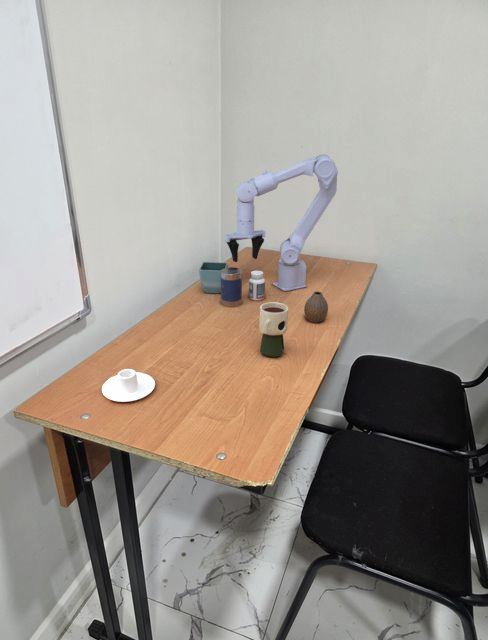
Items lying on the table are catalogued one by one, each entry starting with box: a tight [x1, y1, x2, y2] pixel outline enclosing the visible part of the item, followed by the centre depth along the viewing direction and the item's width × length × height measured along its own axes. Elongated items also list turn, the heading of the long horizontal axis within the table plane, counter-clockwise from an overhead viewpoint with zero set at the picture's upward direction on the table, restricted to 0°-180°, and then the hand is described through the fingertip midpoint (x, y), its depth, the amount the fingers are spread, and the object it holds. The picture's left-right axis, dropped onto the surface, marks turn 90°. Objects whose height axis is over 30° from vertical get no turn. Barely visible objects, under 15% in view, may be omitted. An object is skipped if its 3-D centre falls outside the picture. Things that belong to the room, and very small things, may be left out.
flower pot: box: [198, 261, 229, 294], centre depth 152 cm, size 9×9×9 cm
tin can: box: [220, 266, 243, 308], centre depth 143 cm, size 7×7×11 cm
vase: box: [303, 290, 329, 324], centre depth 132 cm, size 7×7×9 cm
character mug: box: [258, 301, 289, 358], centre depth 114 cm, size 11×7×13 cm, turn 154°
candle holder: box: [101, 368, 156, 403], centre depth 101 cm, size 12×12×4 cm
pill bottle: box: [248, 270, 266, 301], centre depth 147 cm, size 5×5×9 cm
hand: (245, 259), depth 155 cm, fingers open, 7 cm apart
